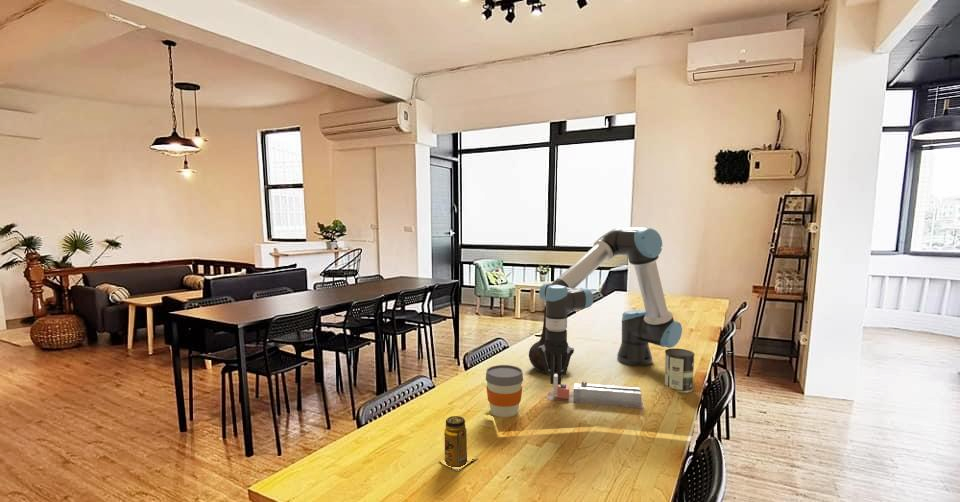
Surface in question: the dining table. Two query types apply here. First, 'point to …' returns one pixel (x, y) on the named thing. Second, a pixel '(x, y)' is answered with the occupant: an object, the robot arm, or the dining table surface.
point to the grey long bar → (606, 396)
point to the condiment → (456, 442)
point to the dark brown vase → (536, 355)
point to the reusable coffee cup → (504, 389)
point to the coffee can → (679, 369)
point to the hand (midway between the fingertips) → (555, 392)
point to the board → (554, 398)
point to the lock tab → (563, 391)
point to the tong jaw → (611, 387)
